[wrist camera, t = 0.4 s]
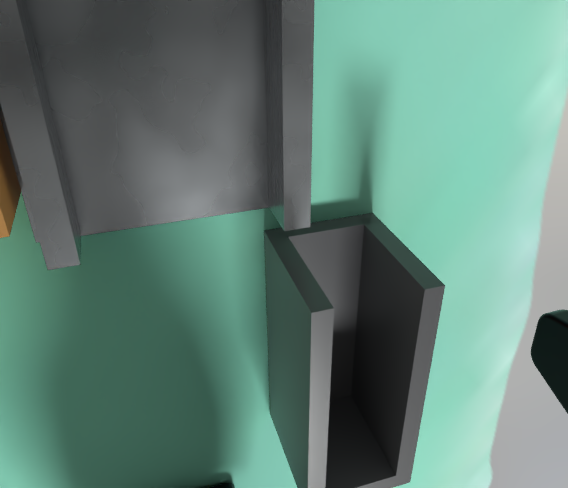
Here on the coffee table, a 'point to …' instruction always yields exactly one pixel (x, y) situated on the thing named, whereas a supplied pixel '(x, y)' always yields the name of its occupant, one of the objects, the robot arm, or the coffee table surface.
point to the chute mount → (155, 112)
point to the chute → (348, 350)
